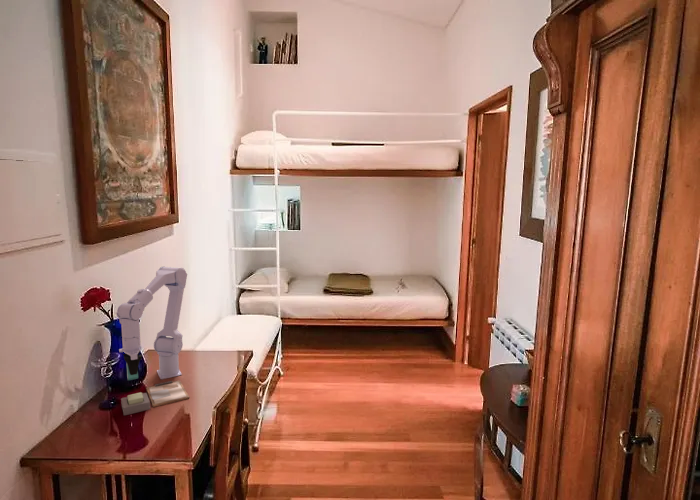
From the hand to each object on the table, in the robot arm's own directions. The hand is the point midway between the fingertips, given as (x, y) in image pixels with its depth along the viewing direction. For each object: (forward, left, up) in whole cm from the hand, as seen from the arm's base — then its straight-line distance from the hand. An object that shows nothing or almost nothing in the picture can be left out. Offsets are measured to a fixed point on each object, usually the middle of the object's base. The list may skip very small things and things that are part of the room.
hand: (133, 372), depth 152 cm
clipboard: (+5, +10, -9) cm, 14 cm away
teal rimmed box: (0, 0, -2) cm, 2 cm away
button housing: (+10, -1, -9) cm, 13 cm away
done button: (+10, -1, -8) cm, 12 cm away
